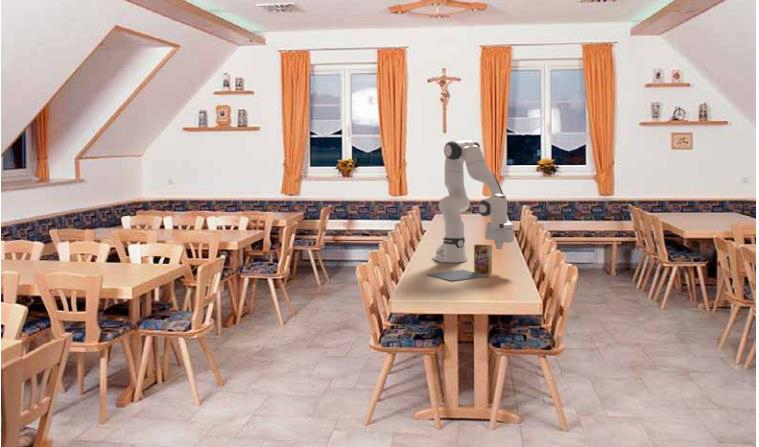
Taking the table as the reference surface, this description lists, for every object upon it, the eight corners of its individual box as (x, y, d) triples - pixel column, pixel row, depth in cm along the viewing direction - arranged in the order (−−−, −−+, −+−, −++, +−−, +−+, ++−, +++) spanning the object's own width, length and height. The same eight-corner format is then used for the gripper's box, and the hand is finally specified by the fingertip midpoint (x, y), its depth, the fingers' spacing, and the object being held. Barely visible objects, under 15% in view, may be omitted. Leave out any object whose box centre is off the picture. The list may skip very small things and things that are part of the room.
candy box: (473, 272, 419) (473, 244, 417) (477, 271, 422) (477, 243, 421) (488, 274, 414) (488, 245, 412) (492, 273, 417) (492, 244, 416)
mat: (426, 275, 413) (426, 274, 412) (462, 270, 425) (462, 269, 425) (451, 281, 394) (451, 280, 394) (488, 276, 406) (488, 275, 406)
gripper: (482, 222, 428) (482, 247, 430) (506, 225, 411) (506, 251, 412) (491, 221, 431) (491, 246, 433) (515, 225, 414) (515, 250, 415)
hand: (499, 249), depth 422 cm, fingers closed
